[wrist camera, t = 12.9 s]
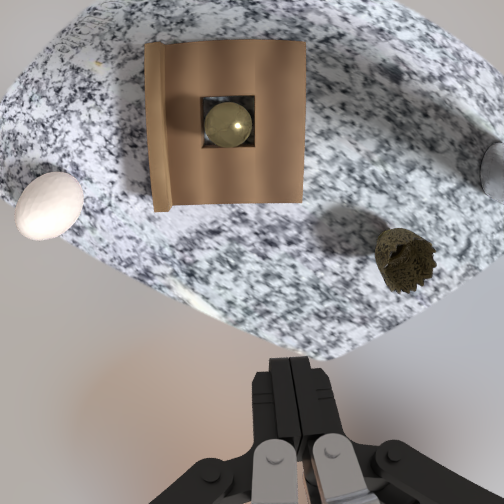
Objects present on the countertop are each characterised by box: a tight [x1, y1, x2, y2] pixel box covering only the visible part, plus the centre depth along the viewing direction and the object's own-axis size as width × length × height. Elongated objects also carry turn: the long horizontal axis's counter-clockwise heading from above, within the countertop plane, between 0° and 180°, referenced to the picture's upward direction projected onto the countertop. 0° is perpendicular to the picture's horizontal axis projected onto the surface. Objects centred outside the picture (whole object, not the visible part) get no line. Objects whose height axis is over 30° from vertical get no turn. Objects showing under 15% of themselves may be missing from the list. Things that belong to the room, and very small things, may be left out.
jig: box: [144, 39, 306, 212], centre depth 30 cm, size 16×18×5 cm
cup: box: [375, 228, 437, 294], centre depth 36 cm, size 7×7×8 cm
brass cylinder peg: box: [205, 102, 252, 148], centre depth 28 cm, size 4×4×8 cm
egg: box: [15, 172, 84, 240], centre depth 29 cm, size 7×7×12 cm
